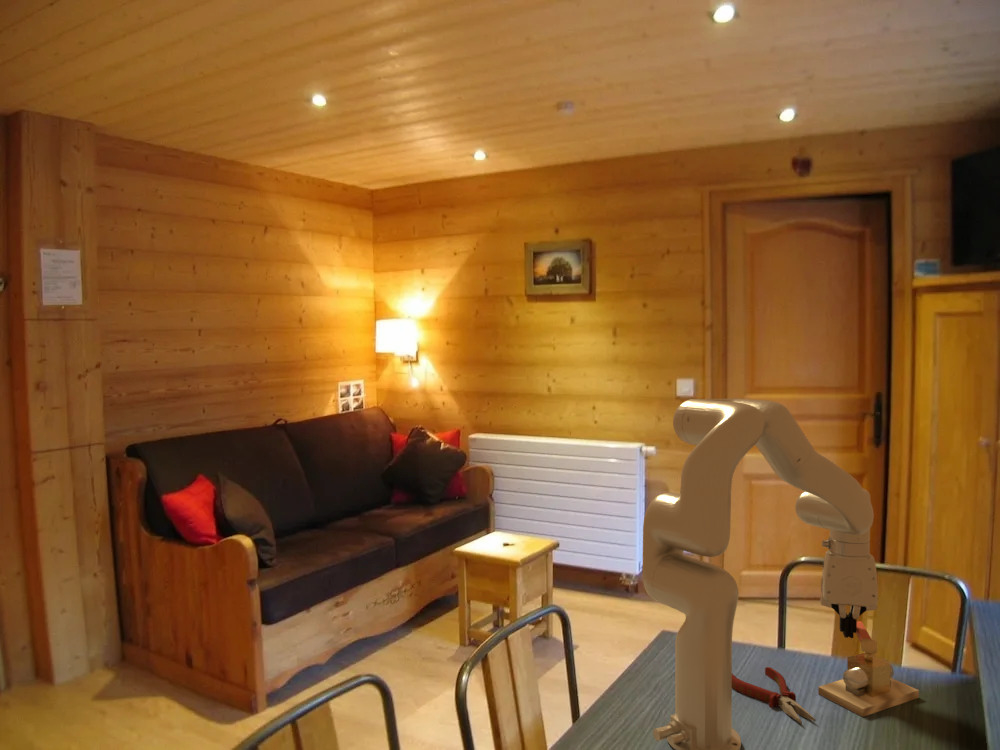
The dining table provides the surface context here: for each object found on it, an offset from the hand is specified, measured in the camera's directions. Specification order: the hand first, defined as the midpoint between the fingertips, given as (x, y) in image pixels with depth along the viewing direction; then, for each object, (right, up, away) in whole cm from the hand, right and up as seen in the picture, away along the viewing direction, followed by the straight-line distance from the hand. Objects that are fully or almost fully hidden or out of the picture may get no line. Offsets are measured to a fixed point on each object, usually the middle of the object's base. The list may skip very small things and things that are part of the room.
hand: (847, 635), depth 152 cm
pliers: (-20, -11, -7) cm, 23 cm away
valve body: (+1, -8, -7) cm, 11 cm away
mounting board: (+1, -9, -7) cm, 12 cm away
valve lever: (+2, 0, -3) cm, 3 cm away
